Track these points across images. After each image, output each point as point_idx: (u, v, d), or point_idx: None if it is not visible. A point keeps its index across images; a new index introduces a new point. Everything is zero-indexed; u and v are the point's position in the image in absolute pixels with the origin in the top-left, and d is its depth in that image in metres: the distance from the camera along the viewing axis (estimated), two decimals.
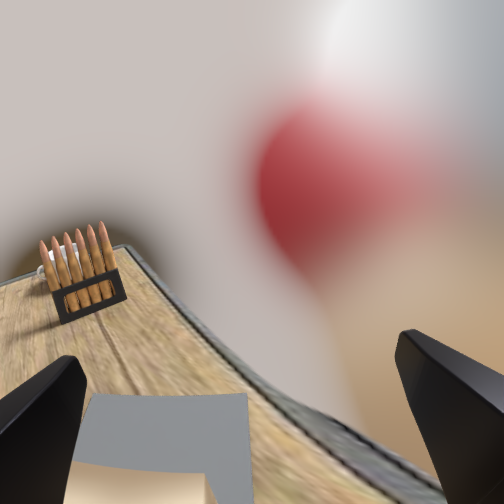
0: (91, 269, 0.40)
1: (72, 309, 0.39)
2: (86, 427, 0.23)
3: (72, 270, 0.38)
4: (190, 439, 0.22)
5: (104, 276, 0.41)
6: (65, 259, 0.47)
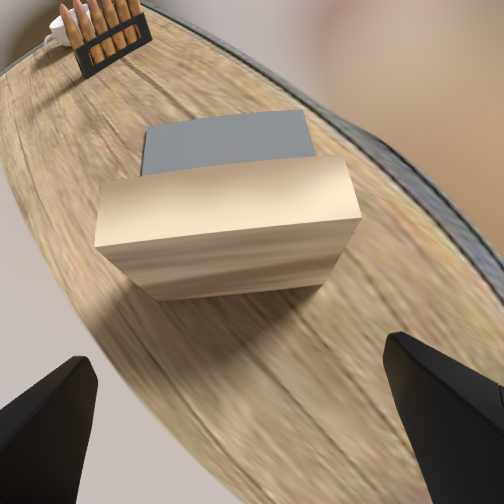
0: (116, 18, 0.30)
1: (97, 60, 0.33)
2: (150, 161, 0.27)
3: (96, 23, 0.29)
4: (260, 151, 0.27)
5: (130, 21, 0.32)
6: (76, 20, 0.34)
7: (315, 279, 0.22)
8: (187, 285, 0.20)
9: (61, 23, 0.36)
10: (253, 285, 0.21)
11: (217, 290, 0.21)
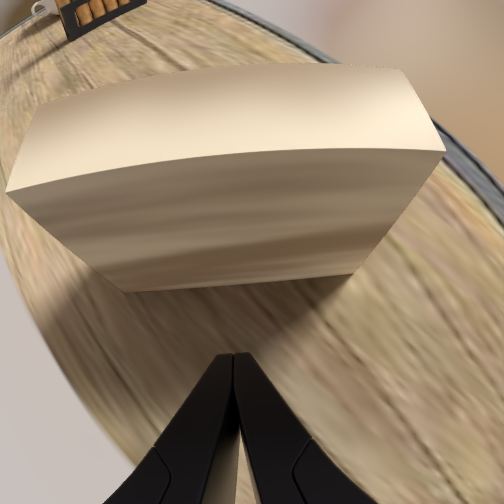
0: None
1: (84, 22, 0.26)
2: None
3: None
4: None
5: None
6: None
7: (345, 265, 0.15)
8: (161, 268, 0.13)
9: None
10: (258, 272, 0.15)
11: (206, 277, 0.15)
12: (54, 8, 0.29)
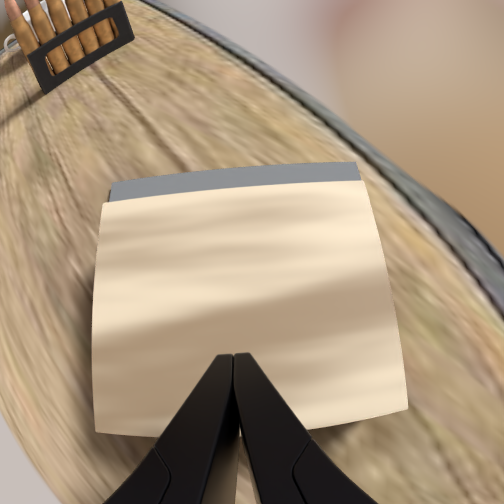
0: (84, 9, 0.20)
1: (58, 69, 0.23)
2: None
3: (55, 17, 0.18)
4: None
5: (102, 14, 0.21)
6: None
7: (385, 376, 0.11)
8: (160, 355, 0.11)
9: (28, 19, 0.26)
10: (276, 388, 0.11)
11: None
12: None
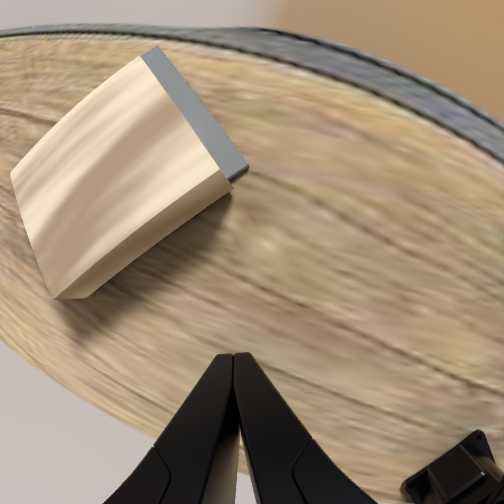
0: None
1: None
2: None
3: None
4: None
5: None
6: None
7: (190, 156, 0.15)
8: (63, 225, 0.16)
9: None
10: (124, 201, 0.16)
11: (93, 231, 0.16)
12: None
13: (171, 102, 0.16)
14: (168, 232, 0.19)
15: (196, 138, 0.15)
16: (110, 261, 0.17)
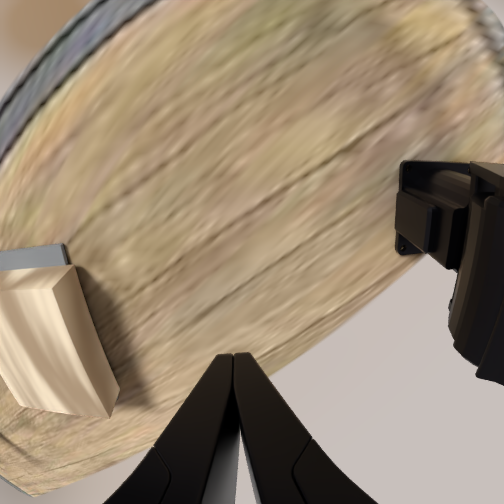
0: None
1: None
2: None
3: None
4: None
5: None
6: None
7: (38, 300, 0.17)
8: (63, 391, 0.20)
9: None
10: (57, 351, 0.19)
11: (71, 376, 0.20)
12: None
13: None
14: (90, 321, 0.22)
15: (27, 290, 0.17)
16: (95, 372, 0.21)
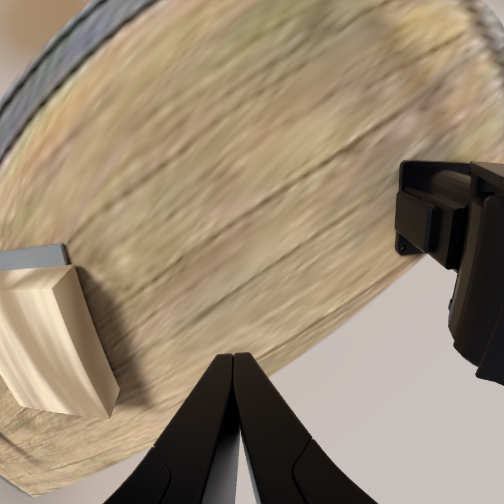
0: None
1: None
2: None
3: None
4: None
5: None
6: None
7: (38, 300, 0.17)
8: (63, 391, 0.20)
9: None
10: (57, 351, 0.19)
11: (72, 376, 0.20)
12: None
13: None
14: (90, 322, 0.22)
15: (27, 290, 0.17)
16: (95, 372, 0.21)
